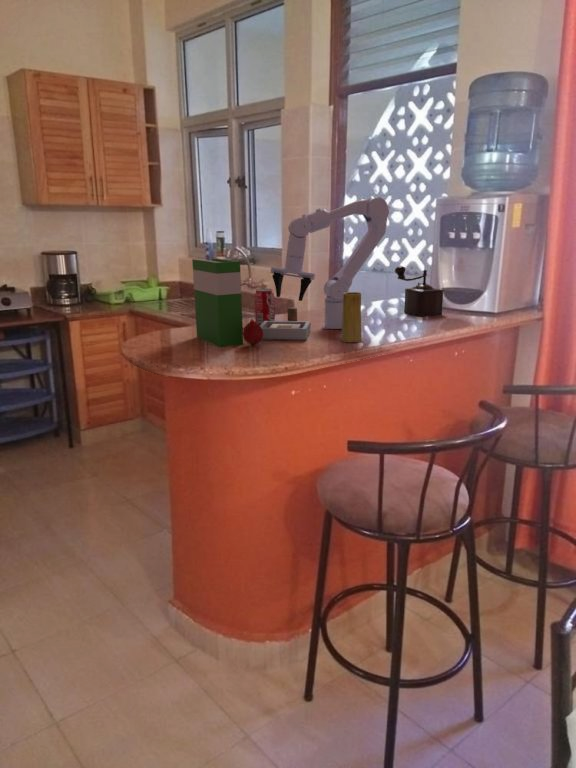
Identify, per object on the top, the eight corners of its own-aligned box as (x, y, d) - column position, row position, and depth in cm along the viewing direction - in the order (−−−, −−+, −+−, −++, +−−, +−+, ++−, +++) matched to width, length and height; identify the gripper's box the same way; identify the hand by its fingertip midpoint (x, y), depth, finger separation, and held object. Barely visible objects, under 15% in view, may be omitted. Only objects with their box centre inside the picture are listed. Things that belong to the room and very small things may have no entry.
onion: (266, 344, 166) (265, 317, 164) (259, 348, 161) (258, 320, 158) (248, 343, 168) (247, 316, 165) (240, 347, 162) (239, 320, 160)
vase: (348, 344, 165) (349, 295, 161) (337, 340, 170) (337, 292, 166) (365, 341, 168) (366, 293, 164) (354, 338, 173) (354, 291, 169)
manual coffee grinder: (424, 310, 221) (427, 264, 216) (442, 315, 211) (445, 266, 206) (391, 314, 215) (392, 265, 210) (407, 318, 205) (410, 268, 200)
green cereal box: (197, 337, 178) (192, 259, 171) (218, 334, 181) (214, 258, 175) (220, 347, 163) (216, 262, 157) (243, 344, 167) (240, 261, 160)
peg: (297, 328, 189) (297, 307, 188) (296, 330, 186) (296, 309, 184) (288, 328, 190) (288, 307, 188) (287, 330, 187) (286, 309, 185)
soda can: (276, 322, 202) (275, 288, 198) (273, 325, 195) (273, 290, 192) (256, 322, 202) (255, 288, 199) (253, 325, 196) (252, 290, 192)
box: (310, 332, 183) (310, 321, 182) (306, 340, 170) (306, 328, 169) (264, 331, 185) (264, 320, 184) (257, 340, 172) (256, 328, 171)
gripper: (270, 253, 180) (264, 295, 184) (313, 260, 177) (307, 303, 180) (276, 253, 187) (271, 294, 190) (318, 259, 183) (312, 301, 187)
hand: (289, 298), depth 186 cm, fingers open, 7 cm apart
